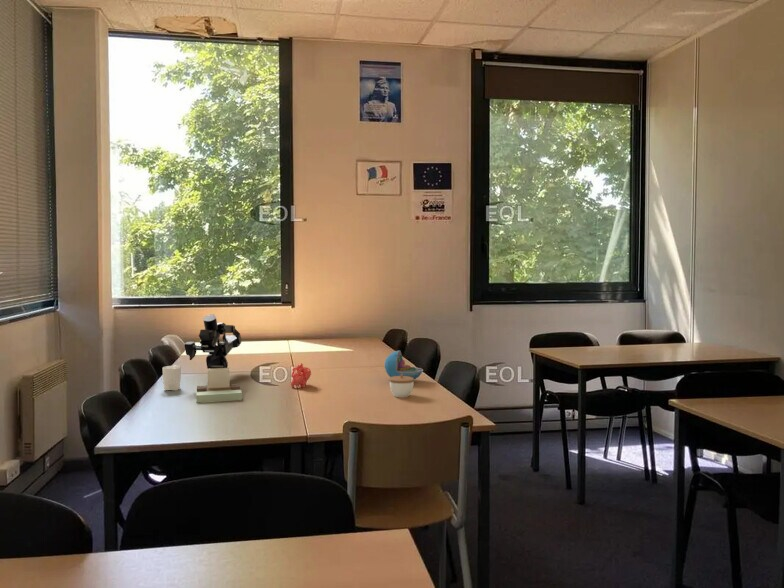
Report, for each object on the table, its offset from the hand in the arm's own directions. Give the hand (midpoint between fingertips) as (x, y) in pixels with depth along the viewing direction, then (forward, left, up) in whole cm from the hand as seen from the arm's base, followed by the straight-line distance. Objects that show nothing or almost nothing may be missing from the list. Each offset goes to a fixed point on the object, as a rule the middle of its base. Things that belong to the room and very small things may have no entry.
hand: (200, 359), depth 266 cm
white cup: (+4, -14, -14) cm, 20 cm away
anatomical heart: (-30, +32, -14) cm, 47 cm away
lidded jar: (-36, +81, -14) cm, 90 cm away
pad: (+8, +18, -14) cm, 24 cm away
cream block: (-1, +10, -11) cm, 15 cm away
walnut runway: (+1, +12, -14) cm, 18 cm away
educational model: (-64, +68, -14) cm, 95 cm away
